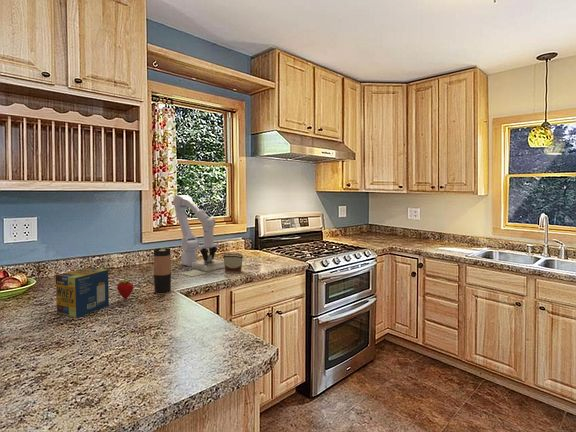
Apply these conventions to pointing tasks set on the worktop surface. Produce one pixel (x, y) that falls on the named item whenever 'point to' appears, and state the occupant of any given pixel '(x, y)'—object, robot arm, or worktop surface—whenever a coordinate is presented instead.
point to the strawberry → (125, 288)
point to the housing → (208, 265)
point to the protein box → (82, 291)
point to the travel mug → (162, 270)
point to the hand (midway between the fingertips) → (208, 260)
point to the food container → (233, 262)
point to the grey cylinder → (209, 258)
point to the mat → (193, 273)
